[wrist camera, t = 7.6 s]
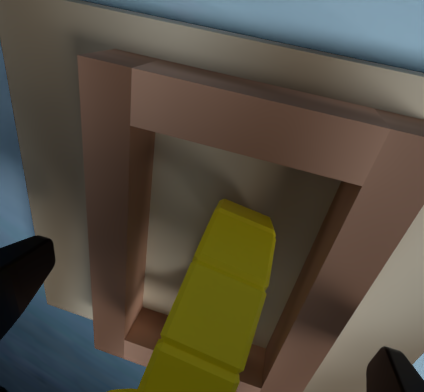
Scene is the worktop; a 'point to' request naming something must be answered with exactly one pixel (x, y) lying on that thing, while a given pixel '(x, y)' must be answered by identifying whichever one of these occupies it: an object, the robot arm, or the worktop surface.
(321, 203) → the wooden framed tray
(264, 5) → the worktop surface
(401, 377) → the robot arm
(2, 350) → the worktop surface
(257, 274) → the watch
